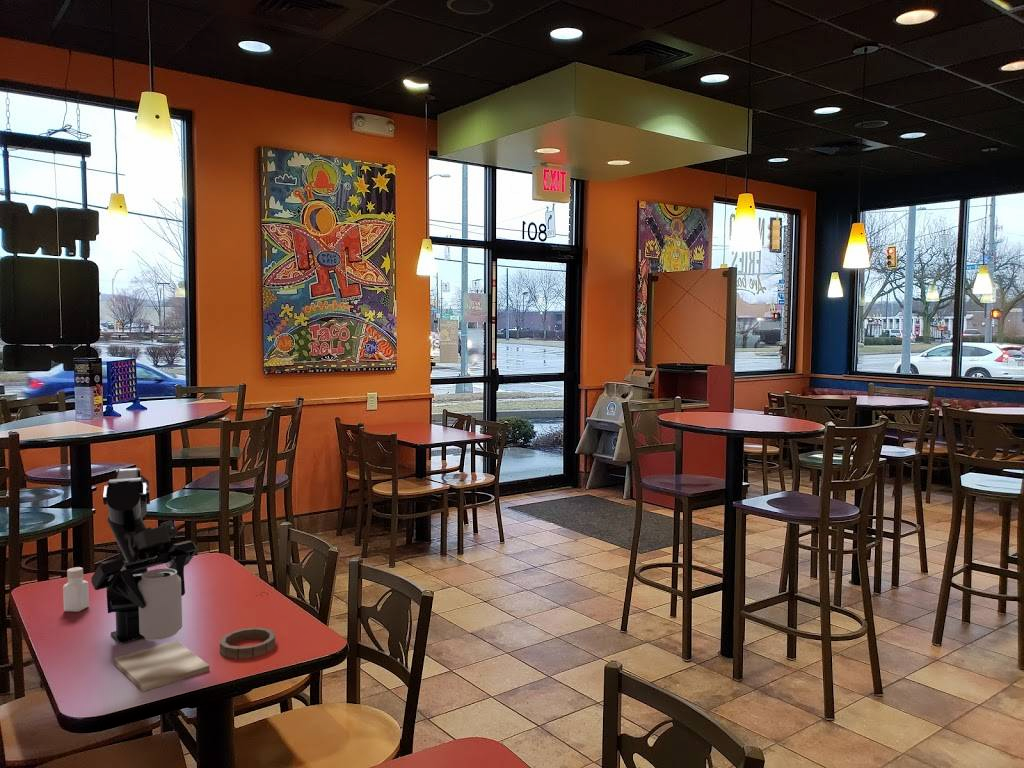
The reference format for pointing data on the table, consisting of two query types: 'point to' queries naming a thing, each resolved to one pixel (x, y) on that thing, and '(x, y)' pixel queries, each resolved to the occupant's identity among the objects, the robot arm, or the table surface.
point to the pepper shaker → (75, 591)
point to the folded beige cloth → (160, 665)
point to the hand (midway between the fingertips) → (164, 600)
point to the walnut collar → (247, 650)
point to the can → (160, 604)
